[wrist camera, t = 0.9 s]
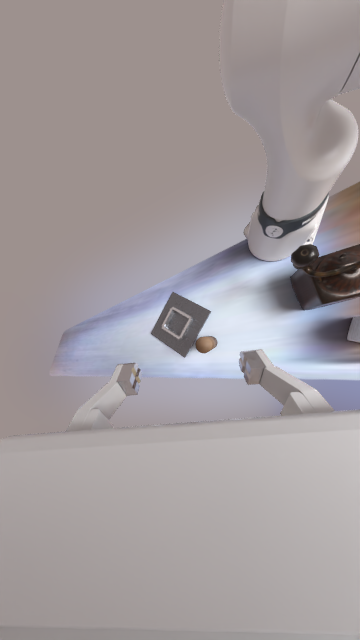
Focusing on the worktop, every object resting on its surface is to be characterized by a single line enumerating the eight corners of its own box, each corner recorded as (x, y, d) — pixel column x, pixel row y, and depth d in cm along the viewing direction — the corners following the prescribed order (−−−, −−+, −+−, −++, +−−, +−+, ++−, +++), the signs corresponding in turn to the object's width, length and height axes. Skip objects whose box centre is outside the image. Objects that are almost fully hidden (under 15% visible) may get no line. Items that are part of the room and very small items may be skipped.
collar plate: (173, 292, 53) (170, 289, 50) (211, 311, 47) (209, 309, 44) (152, 333, 54) (147, 333, 51) (185, 357, 49) (182, 358, 45)
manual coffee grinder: (334, 260, 36) (419, 197, 20) (353, 299, 34) (464, 267, 18) (268, 281, 42) (290, 245, 25) (281, 316, 39) (314, 303, 23)
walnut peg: (208, 334, 46) (200, 334, 35) (219, 340, 45) (214, 342, 34) (202, 344, 47) (192, 347, 36) (213, 351, 45) (206, 356, 34)
